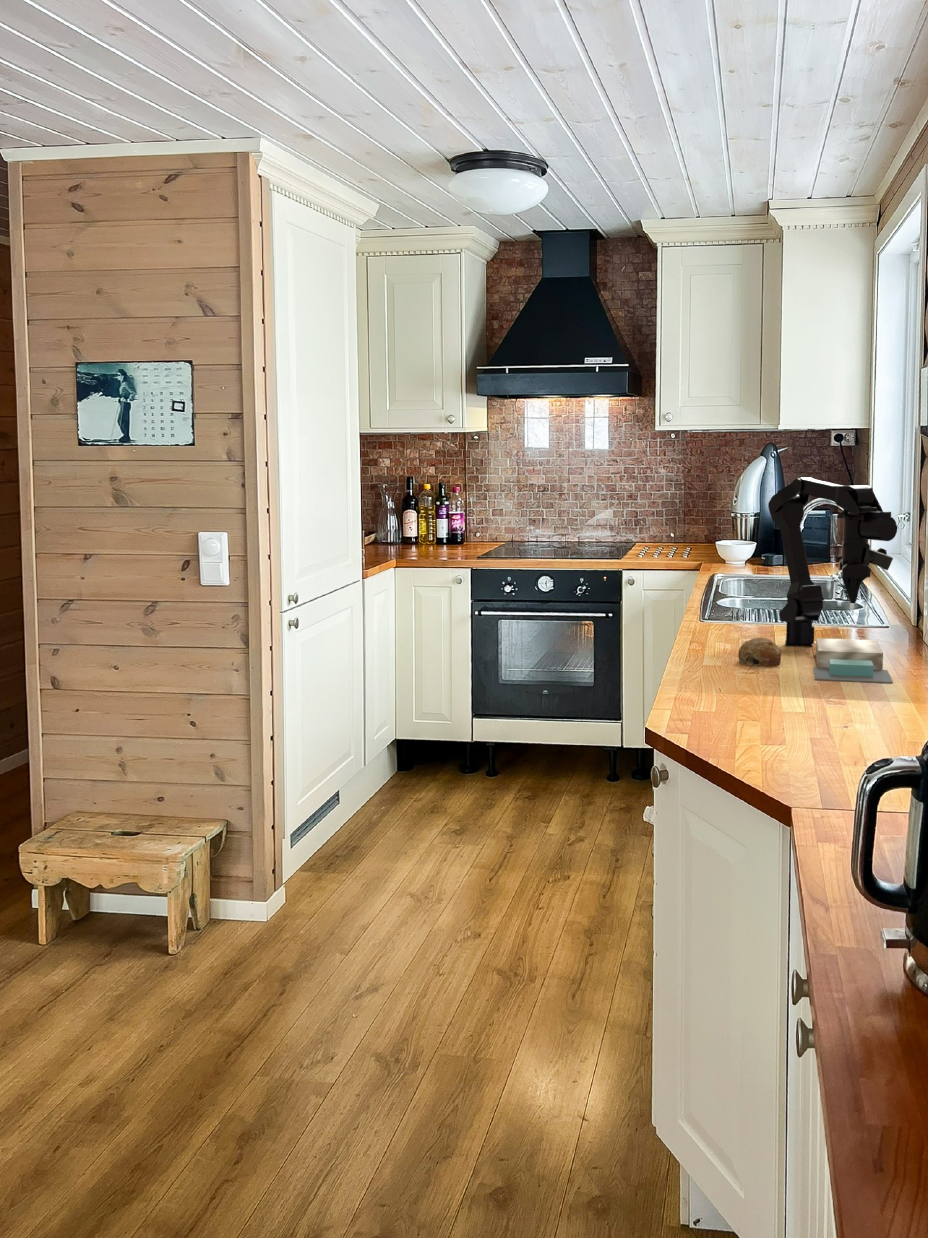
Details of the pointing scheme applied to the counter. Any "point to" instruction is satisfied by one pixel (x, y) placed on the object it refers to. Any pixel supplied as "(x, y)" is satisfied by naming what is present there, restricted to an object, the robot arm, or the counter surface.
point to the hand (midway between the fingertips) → (852, 603)
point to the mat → (878, 676)
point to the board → (848, 651)
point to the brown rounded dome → (760, 653)
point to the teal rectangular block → (851, 667)
